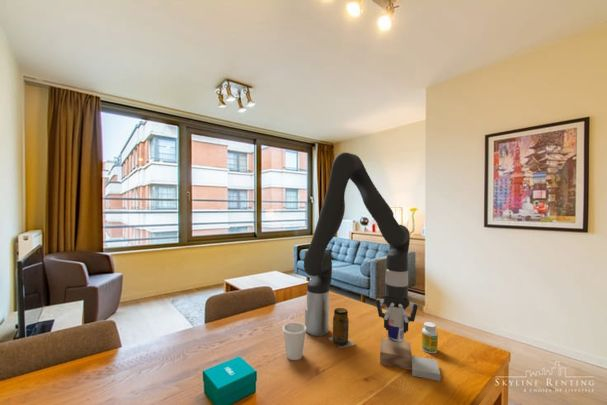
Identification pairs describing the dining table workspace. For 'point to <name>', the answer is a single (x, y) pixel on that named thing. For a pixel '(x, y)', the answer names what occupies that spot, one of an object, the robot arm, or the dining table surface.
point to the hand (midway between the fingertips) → (395, 330)
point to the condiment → (340, 328)
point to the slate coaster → (425, 368)
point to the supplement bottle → (429, 338)
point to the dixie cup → (294, 340)
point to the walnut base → (396, 354)
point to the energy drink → (396, 325)
